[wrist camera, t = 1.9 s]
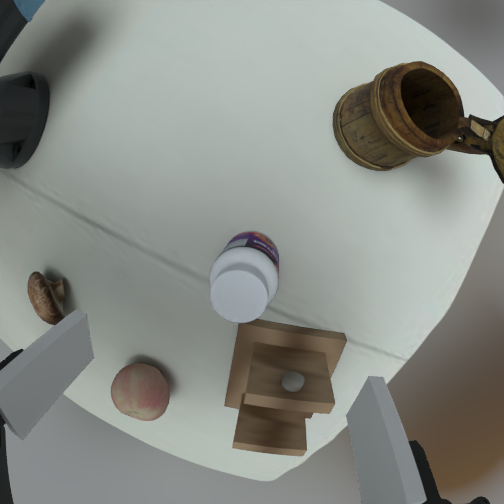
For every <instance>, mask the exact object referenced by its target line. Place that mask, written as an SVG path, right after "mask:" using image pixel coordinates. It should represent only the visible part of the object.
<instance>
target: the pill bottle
mask: <svg viewBox="0 0 504 504" xmlns="http://www.w3.org/2000/svg"><path fill="white" fill-rule="evenodd" d="M278 281H279V255H278V251H277V248H276V246H275V244H274V243H273V242H272V240H271V239H270V238H268V237H267V236H266V235H264V234H262V233H259V232H255V231H247V232H243V233H240V234H238V235H236V236H235V237H234V238H233V239H232V240H231V241H230V242H229V243H228V244H227V246H226V247H225V248H224V250H223V251H222V252H221V254H220V255H219V256H218V258H217V259H216V260H215V262H214V264H213V266H212V268H211V271H210V276H209V283H210V288H211V289H210V300H211V304H212V306H213V308H214V309H215V311H216V312H217V313H218V314H219V315H220V316H221V317H223V318H224V319H226V320H229V321H231V322H236V323H246V322H250V321H253V320H255V319H256V318H258V317H259V316H260V315H261V314H262V313H263V312H264V310H265V308H266V306H267V305H268V304H269V303H270V302H271V301H272V300H273V298H274V296H275V294H276V292H277V288H278Z"/></svg>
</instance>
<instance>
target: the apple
mask: <svg viewBox="0 0 504 504" xmlns="http://www.w3.org/2000/svg"><path fill="white" fill-rule="evenodd" d="M111 397H112V400H113V403H114V405H115V406H116V408H117V409H118V410H119V411H120V412H121V413H123V414H126V415H128V416H131V417H133V418H136V419H139V420H144V421H151V420H155V419H157V418H159V417H160V416H162V415H163V413H164V412H165V410H166V409H167V406H168V404H169V398H170V394H169V387H168V384H167V382H166V380H165V378H164V376H163V375H162V373H161V372H160V371H159V370H158V369H157V368H155V367H153V366H150V365H147V364H140V363H134V364H131V365H128V366H126V367H124V368H123V369H121V370H120V371H119V373H118V374H117V375H116V377H115V378H114V380H113V383H112V386H111Z"/></svg>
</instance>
